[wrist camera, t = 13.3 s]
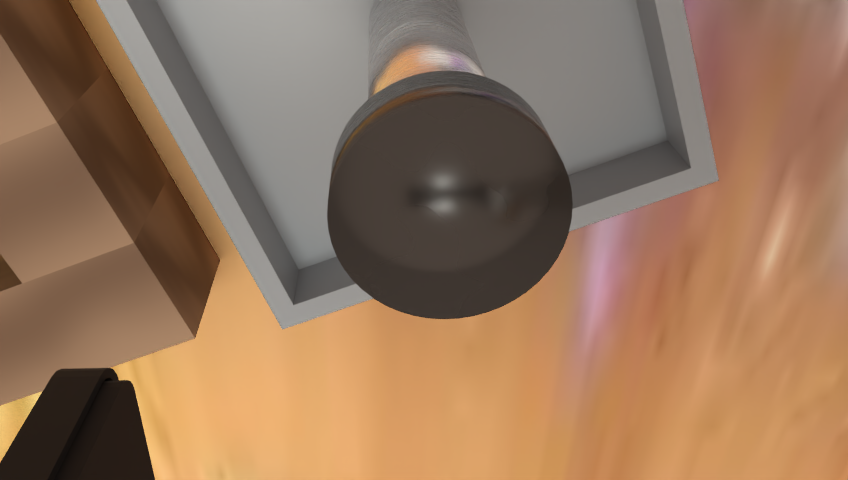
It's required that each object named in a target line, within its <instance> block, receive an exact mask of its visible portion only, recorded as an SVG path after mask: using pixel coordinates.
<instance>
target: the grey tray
mask: <svg viewBox="0 0 848 480" xmlns="http://www.w3.org/2000/svg"><path fill="white" fill-rule="evenodd" d="M96 1H97V3H98V5H99V7H100V8H101V10H102V12H103V14H104V15H105V17H106V19H107V21H108V23H109V24H110V26H111V28H112V30H113V31H114V33H115V35H116V37H117V38H118V40H119V42H120V44H121V45H122V47H123V49H124V51H125V53H126V54H127V56H128V58H129V60H130V61H131V63H132V65H133V67H134V68H135V70H136V72H137V74H138V75H139V77H140V79H141V81H142V82H143V84H144V86H145V88H146V90H147V91H148V93H149V95H150V97H151V98H152V100H153V102H154V104H155V105H156V107H157V109H158V111H159V112H160V114H161V116H162V118H163V120H164V121H165V123H166V125H167V127H168V128H169V130H170V132H171V134H172V135H173V137H174V139H175V141H176V142H177V144H178V146H179V148H180V150H181V151H182V153H183V155H184V157H185V158H186V160H187V162H188V164H189V165H190V167H191V169H192V171H193V172H194V174H195V176H196V178H197V180H198V181H199V183H200V185H201V187H202V188H203V190H204V192H205V194H206V195H207V197H208V199H209V201H210V202H211V204H212V206H213V208H214V210H215V211H216V213H217V215H218V217H219V218H220V220H221V222H222V224H223V225H224V227H225V229H226V231H227V232H228V234H229V236H230V238H231V240H232V241H233V243H234V245H235V247H236V248H237V250H238V252H239V254H240V255H241V257H242V259H243V261H244V262H245V264H246V266H247V268H248V270H249V271H250V273H251V275H252V277H253V278H254V280H255V282H256V284H257V285H258V287H259V289H260V291H261V292H262V294H263V296H264V298H265V299H266V301H267V303H268V305H269V307H270V308H271V310H272V312H273V314H274V315H275V317H276V319H277V321H278V322H279V324H280V326H281V328H282V329H285V328H288V327H291V326H294V325H297V324H300V323H303V322H306V321H308V320H311V319H314V318H317V317H320V316H323V315H326V314H329V313H332V312H335V311H338V310H341V309H344V308H347V307H350V306H352V305H355V304H358V303H361V302H364V301H367V300H370V299H373V297H371V296H370V295H369V294H367V293H366V292H364V291H363V290H362V289H361V288H360V287H359V286H358V285H357V284H356V283H355V282H354V281H353V280H352V279H351V278H350V276H349V275H348V274H347V273H346V271H345V270H344V268H343V267H342V265H341V263H340V262H339V260H338V258H337V256H336V254H335V251H334V249H333V246H332V243H331V239H330V235H329V231H328V221H327V208H328V196H329V186H330V177H331V167H332V161H333V156H334V151H335V148H336V146H337V143H338V140H339V137H340V136H341V134H342V132H343V130H344V128H345V126H346V124H347V123H348V122H349V120H350V119H351V117H352V116H353V115H354V113H355V112H356V111H357V110H358V109H359V108H360V107H361V106H362V105H363V104H364V103H365V102H366V101H367V100H368V61H369V16H370V11H371V8H372V5H373V3H374V1H375V0H96ZM455 1H456V3H457V5H458V7H459V10H460V12H461V15H462V17H463V20H464V23H465V25H466V28H467V30H468V33H469V35H470V38H471V40H472V43H473V45H474V48H475V50H476V53H477V55H478V58H479V61H480V63H481V66H482V68H483V71H484V73H485V76H486V77H487V78H490V79H492V80H495V81H497V82H499V83H501V84H503V85H505V86H506V87H508V88H510V89H511V90H512V91H514V92H515V93H517V94H518V95H519V96H521V97H522V98H523V99H524V100H525V101H526V102H527V103H528V104H529V105H530V106H531V107H532V109H533V110H534V111H535V112H536V114H537V115H538V116H539V118H540V119H541V121H542V123H543V125H544V126H545V128H546V130H547V132H548V134H549V136H550V138H551V140H552V142H553V144H554V146H555V148H556V150H557V152H558V154H559V155H560V157H561V159H562V161H563V163H564V166H565V169H566V171H567V174H568V176H569V181H570V185H571V190H572V201H573V208H572V220H571V224H570V229H569V231H572V230H575V229H578V228H581V227H584V226H587V225H590V224H593V223H596V222H599V221H602V220H604V219H607V218H610V217H613V216H616V215H619V214H622V213H625V212H628V211H631V210H634V209H637V208H640V207H643V206H645V205H648V204H651V203H654V202H657V201H660V200H663V199H666V198H669V197H672V196H675V195H678V194H681V193H684V192H687V191H689V190H692V189H695V188H698V187H701V186H704V185H707V184H710V183H713V182H716V181H719V179H718V174H717V169H716V163H715V158H714V153H713V148H712V143H711V138H710V133H709V128H708V123H707V118H706V113H705V108H704V103H703V98H702V93H701V88H700V83H699V78H698V73H697V68H696V63H695V58H694V53H693V48H692V43H691V38H690V33H689V28H688V23H687V18H686V13H685V8H684V3H683V0H455Z"/></svg>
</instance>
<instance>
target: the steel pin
mask: <svg viewBox="0 0 848 480" xmlns="http://www.w3.org/2000/svg"><path fill="white" fill-rule="evenodd" d="M572 208H573V201H572V190H571V185H570V181H569V176H568V174H567V171H566V169H565V166H564V163H563V161H562V159H561V157H560V155H559V154H558V152H557V150H556V148H555V146H554V144H553V142H552V140H551V138H550V136H549V134H548V132H547V130H546V128H545V126H544V125H543V123H542V121H541V119H540V118H539V116H538V115H537V114H536V112H535V111H534V110H533V109H532V107H531V106H530V105H529V104H528V103H527V102H526V101H525V100H524V99H523V98H522V97H521V96H519V95H518V94H517V93H515V92H514V91H512V90H511V89H510V88H508V87H506V86H505V85H503V84H501V83H499V82H497V81H495V80H492V79H490V78H487V77H486V76H485V73H484V71H483V68H482V66H481V63H480V61H479V58H478V55H477V53H476V50H475V48H474V45H473V43H472V40H471V38H470V35H469V33H468V30H467V28H466V25H465V23H464V20H463V17H462V15H461V12H460V10H459V7H458V5H457V3H456V1H455V0H375V1H374V3H373V5H372V8H371V11H370V16H369V61H368V100H367V101H366V102H365V103H364V104H363V105H362V106H361V107H360V108H359V109H358V110H357V111H356V112H355V113H354V115H353V116H352V117H351V119H350V120H349V122H348V123H347V124H346V126H345V128H344V130H343V132H342V134H341V136H340V137H339V140H338V143H337V146H336V148H335V151H334V156H333V161H332V167H331V177H330V186H329V196H328V208H327V221H328V231H329V235H330V239H331V243H332V246H333V249H334V251H335V254H336V256H337V258H338V260H339V262H340V263H341V265H342V267H343V268H344V270H345V271H346V273H347V274H348V275H349V276H350V278H351V279H352V280H353V281H354V282H355V283H356V284H357V285H358V286H359V287H360V288H361V289H362V290H363V291H364V292H366V293H367V294H369V295H370V296H371V297H373V298H374V299H375V300H377V301H379V302H381V303H383V304H384V305H386V306H388V307H390V308H393V309H395V310H398V311H400V312H403V313H407V314H410V315H414V316H419V317H425V318H435V319H454V318H464V317H470V316H475V315H479V314H482V313H486V312H489V311H492V310H494V309H497V308H499V307H502V306H504V305H506V304H508V303H510V302H511V301H513V300H515V299H517V298H518V297H520V296H521V295H523V294H524V293H526V292H527V291H528V290H529V289H531V288H532V287H533V286H534V285H535V284H536V283H538V282H539V281H540V280H541V278H542V277H543V276H544V275H545V274H546V273H547V272H548V271H549V269H550V268H551V267H552V265H553V264H554V262H555V261H556V260H557V258H558V256H559V254H560V252H561V250H562V248H563V247H564V244H565V241H566V239H567V236H568V233H569V229H570V224H571V220H572Z"/></svg>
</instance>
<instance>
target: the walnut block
mask: <svg viewBox="0 0 848 480" xmlns="http://www.w3.org/2000/svg"><path fill="white" fill-rule="evenodd" d="M219 261H220V260H219V258H218V256H217V255H216V253H215V251H214V250H213V248H212V246H211V244H210V243H209V241H208V239H207V238H206V236H205V234H204V232H203V231H202V229H201V227H200V226H199V224H198V222H197V220H196V219H195V217H194V215H193V214H192V212H191V210H190V208H189V207H188V205H187V203H186V202H185V200H184V198H183V196H182V195H181V193H180V191H179V190H178V188H177V186H176V185H175V183H174V181H173V179H172V178H171V176H170V174H169V173H168V171H167V169H166V167H165V166H164V164H163V162H162V161H161V159H160V157H159V155H158V154H157V152H156V150H155V149H154V147H153V145H152V143H151V142H150V140H149V138H148V137H147V135H146V133H145V131H144V130H143V128H142V126H141V125H140V123H139V121H138V119H137V118H136V116H135V114H134V113H133V111H132V109H131V108H130V106H129V104H128V102H127V101H126V99H125V97H124V96H123V94H122V92H121V90H120V89H119V87H118V85H117V84H116V82H115V80H114V78H113V77H112V75H111V73H110V72H109V70H108V68H107V66H106V65H105V63H104V61H103V60H102V58H101V56H100V54H99V53H98V51H97V49H96V48H95V46H94V44H93V42H92V41H91V39H90V37H89V36H88V34H87V32H86V31H85V29H84V27H83V25H82V24H81V22H80V20H79V19H78V17H77V15H76V13H75V12H74V10H73V8H72V7H71V5H70V3H69V1H68V0H0V405H3V404H6V403H9V402H12V401H14V400H17V399H20V398H23V397H26V396H29V395H32V394H35V393H38V392H41V391H43V390H44V388H45V387H46V385H47V383H48V382H49V380H50V378H51V377H52V376H53V374H54V373H55V372H56V371H57V370H60V369H72V368H110V367H113V366H116V365H119V364H122V363H125V362H128V361H130V360H133V359H136V358H139V357H142V356H145V355H148V354H151V353H154V352H157V351H159V350H162V349H165V348H168V347H171V346H174V345H177V344H180V343H183V342H186V341H189V340H191V339H194V338H195V337H196V334H197V331H198V328H199V324H200V321H201V318H202V315H203V312H204V309H205V306H206V302H207V299H208V296H209V293H210V290H211V287H212V283H213V280H214V277H215V274H216V271H217V268H218V265H219Z"/></svg>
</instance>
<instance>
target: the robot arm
mask: <svg viewBox="0 0 848 480" xmlns="http://www.w3.org/2000/svg"><path fill="white" fill-rule="evenodd" d="M0 480H155V478H154V473H153V469H152V465H151V460H150V456H149V451H148V447H147V443H146V438H145V434H144V429H143V425H142V420H141V416H140V412H139V407H138V403H137V398H136V394H135V390H134V387H133V384H132V383H131V382H130V381H128V380H122V381H119V380H118V377H117V374H116V373H115V371H114V370H113V369H111V368H72V369H60V370H57V371H56V372H55V373H54V374H53V376H52V377H51V378H50V380H49V382H48V383H47V385H46V387H45V388H44V390H43V392H42V394H41V395H40V397H39V399H38V400H37V402H36V404H35V405H34V407H33V409H32V410H31V412H30V414H29V415H28V417H27V419H26V420H25V422H24V424H23V425H22V427H21V429H20V431H19V432H18V434H17V436H16V437H15V439H14V441H13V442H12V444H11V446H10V447H9V449H8V451H7V452H6V454H5V456H4V457H3V459H2V461H1V462H0Z"/></svg>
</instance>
